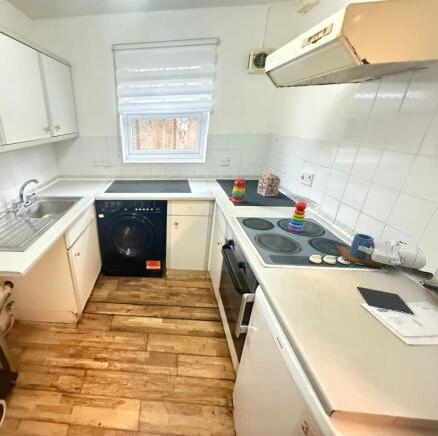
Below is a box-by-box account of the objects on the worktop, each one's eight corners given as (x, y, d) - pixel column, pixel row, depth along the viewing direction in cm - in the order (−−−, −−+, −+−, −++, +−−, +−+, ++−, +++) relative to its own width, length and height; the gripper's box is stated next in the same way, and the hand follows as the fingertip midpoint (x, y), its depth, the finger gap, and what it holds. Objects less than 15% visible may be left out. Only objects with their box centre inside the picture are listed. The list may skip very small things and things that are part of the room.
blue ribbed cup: (362, 252, 109) (369, 234, 105) (368, 259, 103) (376, 241, 100) (346, 249, 111) (353, 232, 107) (351, 256, 105) (359, 238, 102)
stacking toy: (286, 228, 139) (294, 198, 132) (302, 231, 135) (311, 200, 128) (285, 233, 133) (293, 202, 125) (302, 237, 129) (311, 204, 122)
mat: (396, 295, 87) (397, 294, 87) (413, 314, 78) (414, 313, 78) (356, 287, 91) (357, 286, 90) (368, 305, 82) (368, 304, 82)
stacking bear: (227, 198, 190) (231, 176, 183) (239, 198, 191) (243, 176, 184) (234, 203, 180) (237, 180, 173) (246, 202, 181) (250, 179, 174)
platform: (366, 255, 112) (371, 242, 109) (379, 270, 100) (386, 256, 98) (333, 250, 116) (338, 237, 113) (343, 264, 105) (348, 251, 102)
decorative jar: (277, 196, 196) (282, 174, 189) (264, 196, 194) (268, 175, 187) (268, 192, 207) (273, 171, 200) (256, 192, 205) (260, 172, 198)
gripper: (401, 272, 91) (355, 259, 99) (397, 251, 105) (357, 242, 114) (408, 258, 89) (360, 246, 97) (403, 239, 103) (361, 230, 111)
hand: (358, 244), depth 105 cm, fingers closed on blue ribbed cup, 6 cm apart
